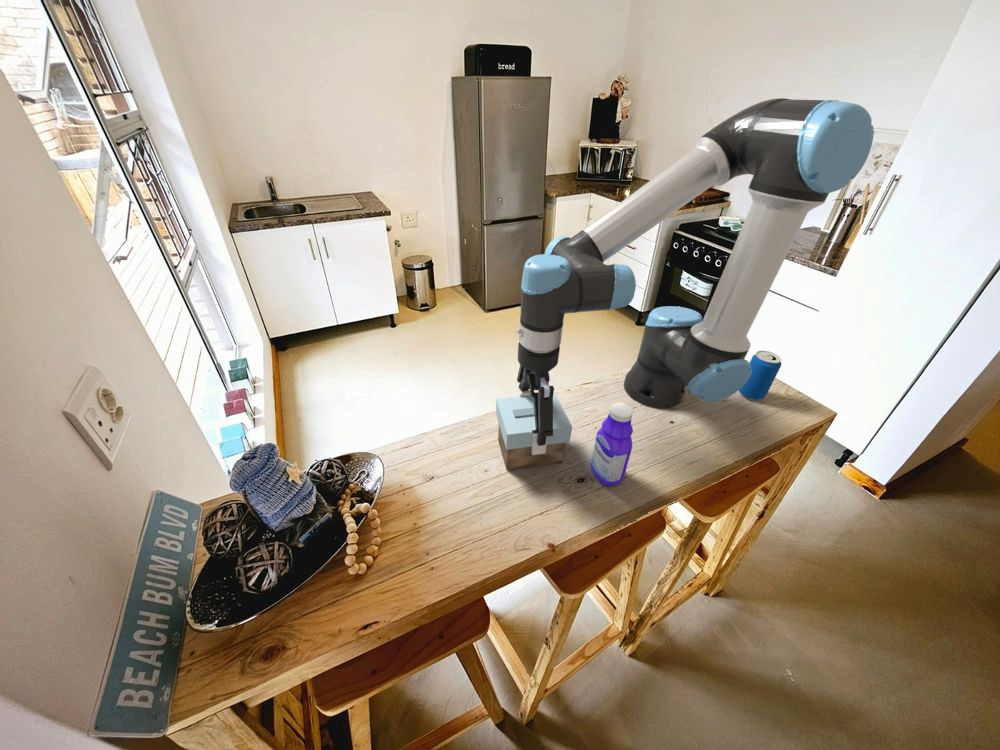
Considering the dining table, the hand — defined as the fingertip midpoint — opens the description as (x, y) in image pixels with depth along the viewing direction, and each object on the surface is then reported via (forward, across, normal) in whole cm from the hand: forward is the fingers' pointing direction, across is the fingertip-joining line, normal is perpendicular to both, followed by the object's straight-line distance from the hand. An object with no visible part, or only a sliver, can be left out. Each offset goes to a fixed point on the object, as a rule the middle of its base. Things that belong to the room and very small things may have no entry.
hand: (530, 433), depth 87 cm
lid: (-2, 0, 0) cm, 2 cm away
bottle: (+6, +9, +14) cm, 18 cm away
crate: (+5, 0, 0) cm, 5 cm away
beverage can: (+6, -10, +63) cm, 64 cm away
